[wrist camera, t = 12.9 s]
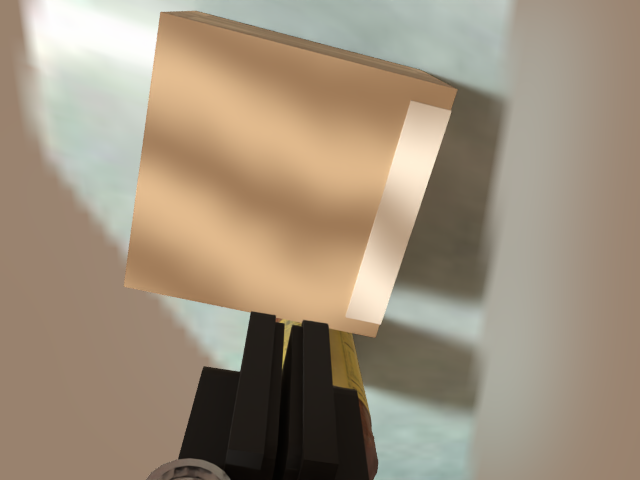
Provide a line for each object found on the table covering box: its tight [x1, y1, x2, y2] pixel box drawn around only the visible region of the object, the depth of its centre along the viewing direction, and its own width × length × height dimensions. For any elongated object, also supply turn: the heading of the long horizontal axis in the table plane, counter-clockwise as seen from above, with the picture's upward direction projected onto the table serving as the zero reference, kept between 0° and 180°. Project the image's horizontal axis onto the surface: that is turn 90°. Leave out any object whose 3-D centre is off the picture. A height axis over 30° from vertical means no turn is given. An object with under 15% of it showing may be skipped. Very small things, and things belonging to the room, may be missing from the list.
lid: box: [124, 12, 458, 338], centre depth 29 cm, size 14×14×1 cm
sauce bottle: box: [276, 318, 378, 480], centre depth 33 cm, size 7×6×20 cm
